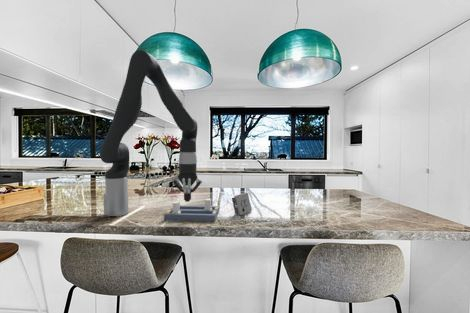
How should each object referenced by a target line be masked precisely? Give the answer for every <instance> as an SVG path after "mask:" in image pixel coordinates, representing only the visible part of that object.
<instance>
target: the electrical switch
mask: <svg viewBox="0 0 470 313" xmlns="http://www.w3.org/2000/svg"><path fill="white" fill-rule="evenodd" d="M250 201H251V200H250V197H249V192H243V193H239V194H236V195H235V196H234V197H232V198H231V202H232V205H233V210H234V214H235V215H239V216H243V215H246V214H248V213H250V212H252V211H253V210H252V209H253V208H252V206H251V202H250Z"/></svg>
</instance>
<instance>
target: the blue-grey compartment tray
mask: <svg viewBox="0 0 470 313" xmlns="http://www.w3.org/2000/svg"><path fill="white" fill-rule="evenodd" d="M211 208H212V210H205V205H180V211H181V213H172V212H173V206H172V207H171V208H169V209H168V210H167V211H166V212H165V213H164V214H163V220H164V221H177V220H192V221H191V222H216V219H217V217H218V215H219V212H220V206H218V205H217V206H216V205H211Z"/></svg>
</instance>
